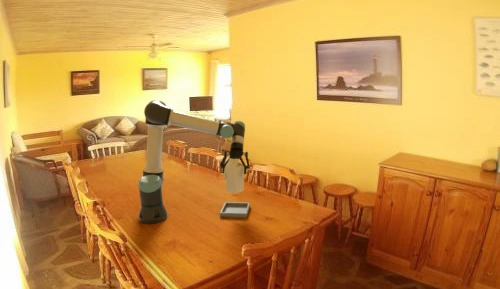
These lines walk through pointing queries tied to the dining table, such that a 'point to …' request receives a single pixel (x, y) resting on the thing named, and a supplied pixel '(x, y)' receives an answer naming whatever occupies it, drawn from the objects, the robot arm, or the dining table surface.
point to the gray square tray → (235, 209)
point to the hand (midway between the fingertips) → (233, 178)
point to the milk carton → (234, 176)
